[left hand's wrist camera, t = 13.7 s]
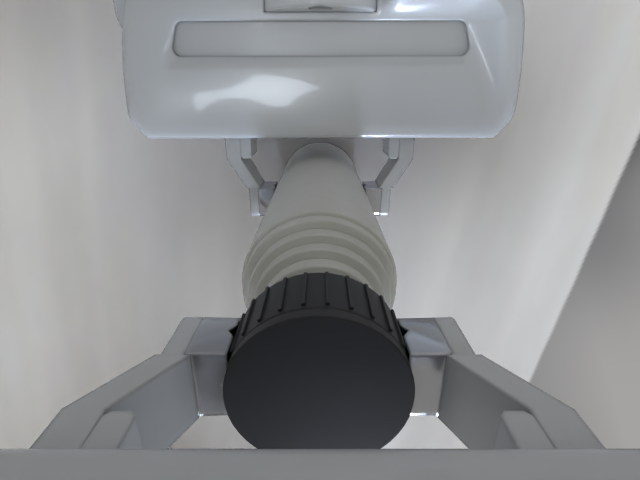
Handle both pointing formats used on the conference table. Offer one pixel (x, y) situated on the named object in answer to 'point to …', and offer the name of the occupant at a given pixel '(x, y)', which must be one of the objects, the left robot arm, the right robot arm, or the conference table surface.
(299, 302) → the cap
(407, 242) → the conference table surface
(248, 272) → the bottle
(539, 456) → the left robot arm
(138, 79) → the right robot arm
